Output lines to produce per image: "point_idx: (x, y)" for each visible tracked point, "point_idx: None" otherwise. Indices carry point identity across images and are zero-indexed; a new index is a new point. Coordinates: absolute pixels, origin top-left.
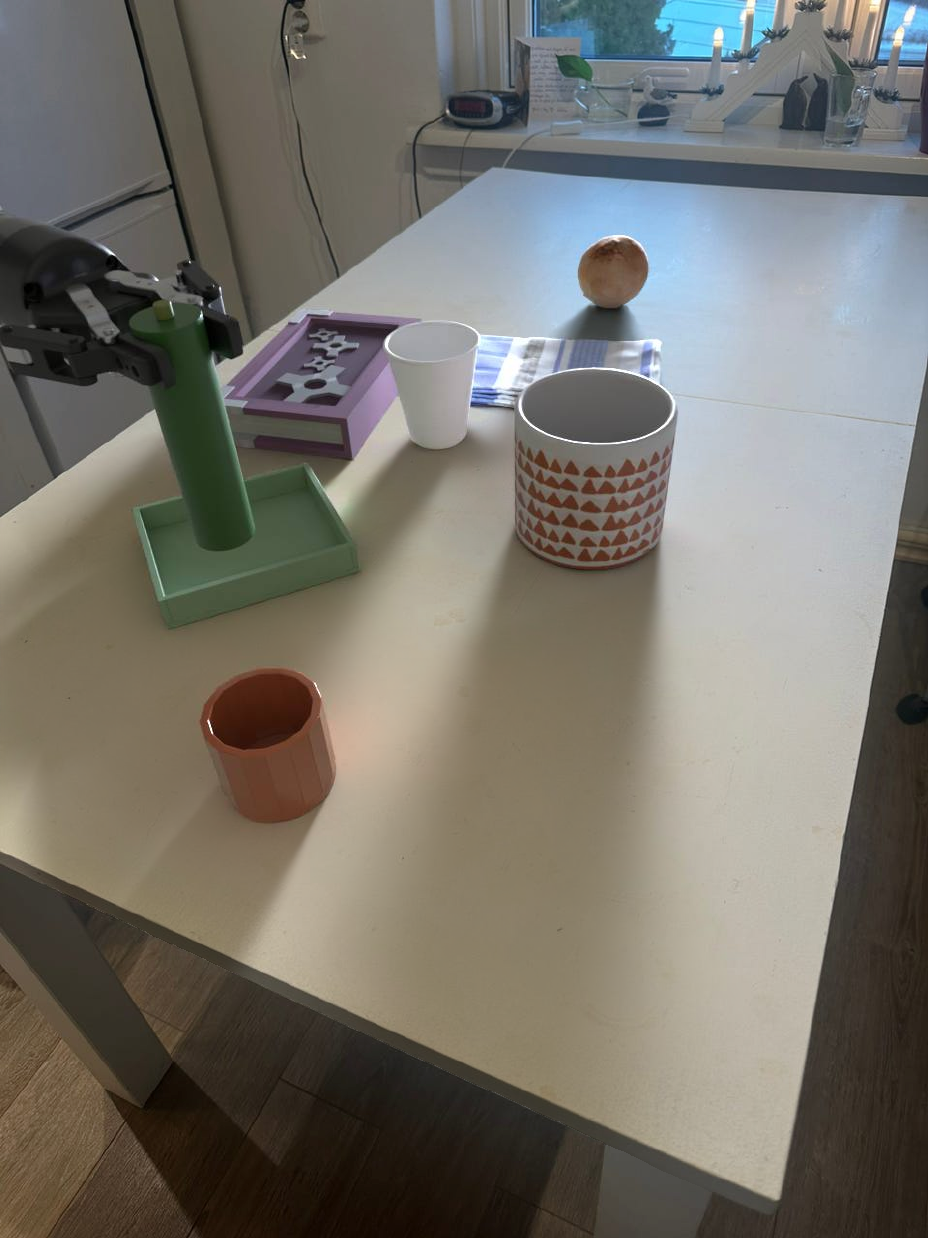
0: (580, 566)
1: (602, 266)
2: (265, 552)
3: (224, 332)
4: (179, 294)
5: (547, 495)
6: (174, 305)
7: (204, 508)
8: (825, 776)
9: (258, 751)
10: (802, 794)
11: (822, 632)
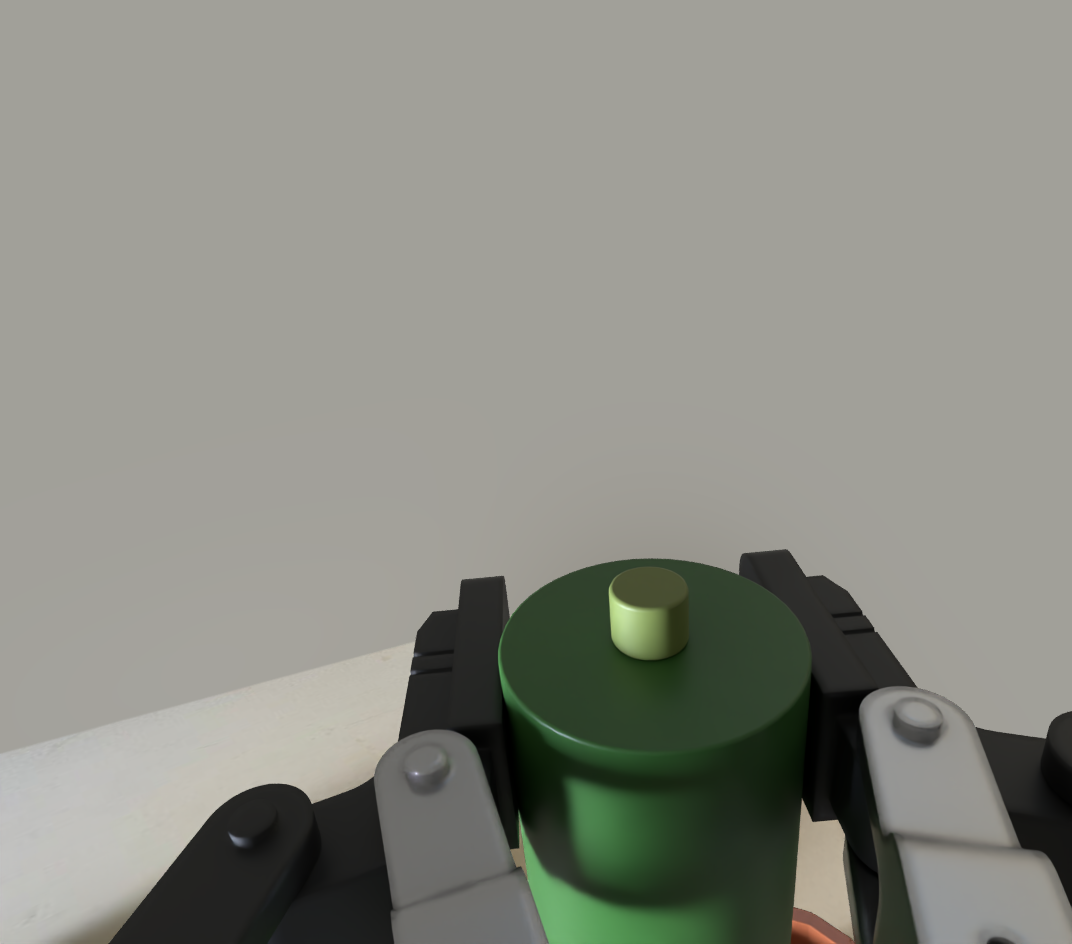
0: None
1: None
2: None
3: (506, 607)
4: (412, 869)
5: None
6: (556, 699)
7: None
8: (323, 676)
9: (818, 927)
10: (354, 677)
11: (100, 758)
